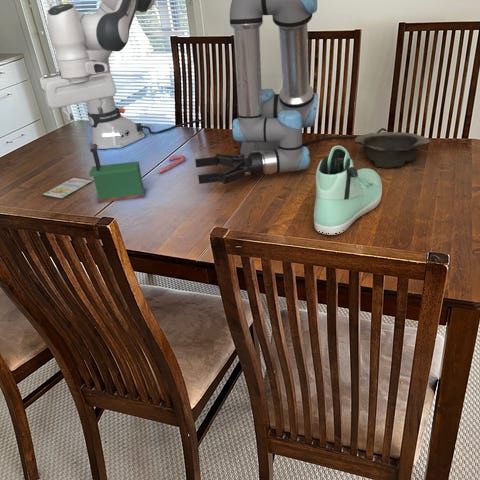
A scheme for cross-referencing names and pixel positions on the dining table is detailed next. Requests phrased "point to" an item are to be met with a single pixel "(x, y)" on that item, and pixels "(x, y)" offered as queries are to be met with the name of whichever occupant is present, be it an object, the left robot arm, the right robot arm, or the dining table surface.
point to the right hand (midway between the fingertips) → (196, 171)
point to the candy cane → (181, 159)
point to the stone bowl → (391, 147)
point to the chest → (119, 186)
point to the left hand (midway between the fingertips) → (86, 116)
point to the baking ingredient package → (67, 187)
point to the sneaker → (343, 192)
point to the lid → (110, 166)
